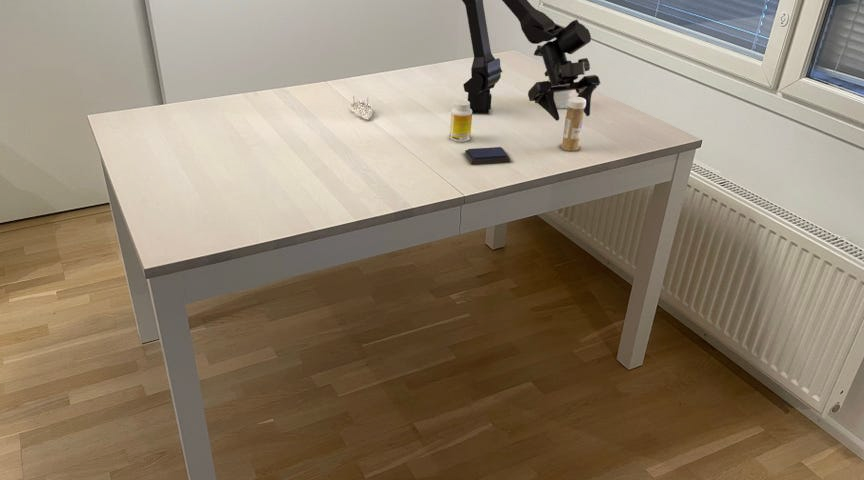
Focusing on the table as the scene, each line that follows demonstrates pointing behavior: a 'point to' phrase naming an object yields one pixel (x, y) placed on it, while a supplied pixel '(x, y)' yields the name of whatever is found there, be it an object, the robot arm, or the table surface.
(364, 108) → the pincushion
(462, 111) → the supplement bottle
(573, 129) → the sprinkles bottle
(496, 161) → the ink pad
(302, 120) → the table surface
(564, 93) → the small box
